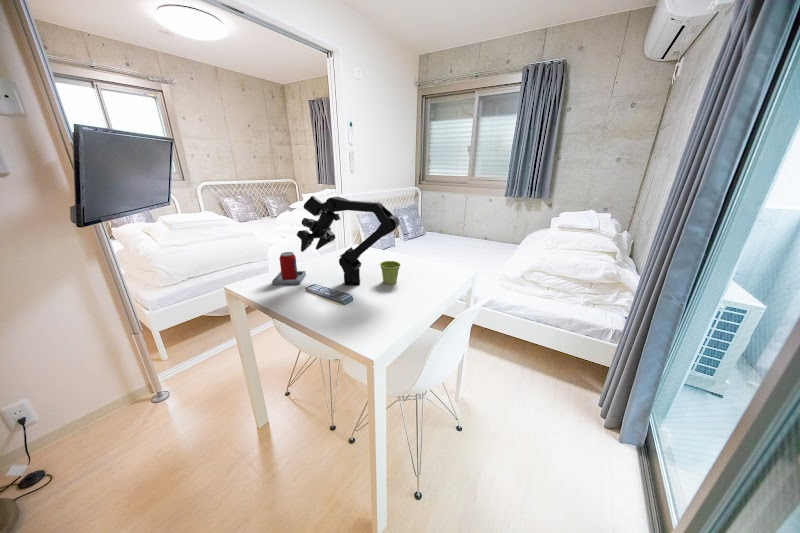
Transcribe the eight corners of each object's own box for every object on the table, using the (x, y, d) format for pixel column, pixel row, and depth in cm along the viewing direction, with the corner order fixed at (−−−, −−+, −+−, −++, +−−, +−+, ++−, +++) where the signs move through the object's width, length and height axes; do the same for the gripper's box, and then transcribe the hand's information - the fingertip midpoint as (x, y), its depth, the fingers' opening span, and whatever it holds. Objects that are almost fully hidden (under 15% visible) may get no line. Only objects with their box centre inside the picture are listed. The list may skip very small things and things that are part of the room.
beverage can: (301, 278, 126) (298, 253, 122) (287, 282, 121) (284, 256, 117) (292, 274, 130) (289, 250, 126) (279, 279, 125) (275, 254, 121)
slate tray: (305, 274, 132) (305, 270, 131) (299, 284, 121) (299, 280, 120) (281, 275, 131) (280, 271, 130) (272, 285, 120) (272, 280, 119)
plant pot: (399, 278, 130) (400, 260, 127) (400, 286, 121) (400, 267, 118) (380, 278, 130) (380, 260, 127) (379, 286, 121) (379, 267, 118)
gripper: (326, 211, 127) (312, 237, 134) (296, 210, 111) (281, 240, 117) (342, 226, 125) (327, 252, 131) (313, 227, 108) (298, 257, 114)
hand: (309, 250), depth 123 cm, fingers open, 9 cm apart
